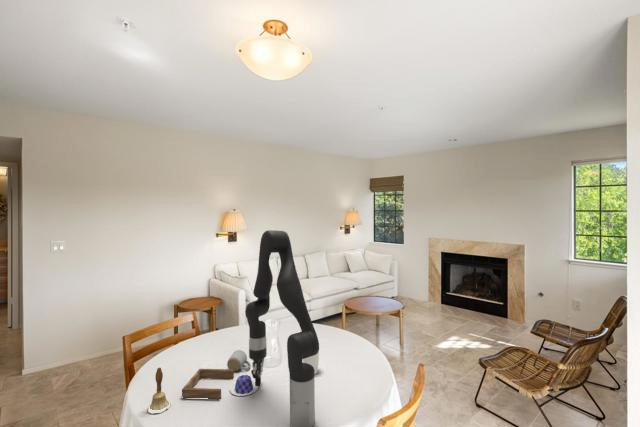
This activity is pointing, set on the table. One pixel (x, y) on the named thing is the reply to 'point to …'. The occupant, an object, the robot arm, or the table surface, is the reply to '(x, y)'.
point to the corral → (205, 392)
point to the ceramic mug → (238, 361)
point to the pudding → (243, 386)
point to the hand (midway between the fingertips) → (258, 385)
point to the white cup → (313, 361)
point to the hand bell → (159, 394)
